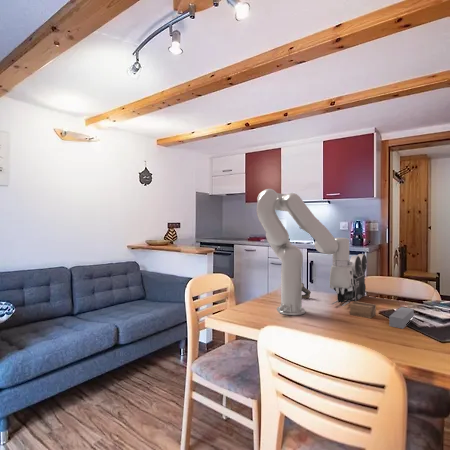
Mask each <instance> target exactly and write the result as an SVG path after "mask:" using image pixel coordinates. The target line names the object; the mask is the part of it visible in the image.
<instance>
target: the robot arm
mask: <svg viewBox="0 0 450 450" xmlns="http://www.w3.org/2000/svg"><path fill="white" fill-rule="evenodd" d="M256 200H257V201H256V202H257V204H256V215H257V219H258V221H259V223H260V225H261V226H262V228H263V230H264V231H265V238H266V241H267V243H268V244H269V246H270V247H271V249H272V250H273V252H274V254H275V255H276V257H277V259H279V261H281V268H280V285H281V286H280V288H281V289H280V293H281V295H280V298H281V299H280V300H281V301H280V302H281V303H280V306H277V308H276V311H277V312H278V313H279V314H282V315H285V316H300V315H304V314H305V313H306V309H305V308H304V307H302V306H303V304H302V303H303V301H302V300H303V299H302V295H303V294H302V293H303V291H302V283H303V281H302V271H303V270H302V268H303V259H304V258H303V257H304V256H303V252H302V250H301V249H300V248H299V247H298V246H296V245H294V244H292V243H291V241H290V240H289V239H290V235H289V232H288V230H287V228H286V227H285V226H284V224H283V223H282V221H281V219H280V218H279V217H278V215H277V212H276V211H280V212H281V211H282V212H288V214H289V215H290V216H291V218H292V219H293V220H294V221H295V223H296V224H297V225H298V227H299V228H300V229H301V230H303V231H304V232H306V234H307V233H308V235H310V236H311V238H313V239H314V240H315V242H314V248H315V250H316V251H317V252H319V253H321V254H326V255H330V256H331V255H332V265H331V266H330V271H329V288H330V289H332V290H334V291H335V293H336V294H337V297H336V298H337V299H336V300H338V302H337V303H340V304H341V303H345V302H344V301H346V300H345V293H346V292H347V291H352V290H353V288H352V287H353V273H352V268H351V267H349V266H350V265H352V262H350V239H349V238H347V237H334V235H333V234H332V233H331V232H330V230H329V229H328V228H327V226H325V225H324V224H323V223H322V222H321V221H320V220H319V219H318V218H317V217H316V216H315V215H314V213H312V211H311V209H310V208H309V206H307V204H306V203H305V202H304V200H303V199H302V198H301V196H300V195H299V194H297V193H293V192H292V193H288V194H286V193H279V192H277V191H276V190H274V189H273V188H265V189H264V190H262V191H261V192H260V193H258V196H257V198H256ZM341 288H342V291H341Z"/></svg>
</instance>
